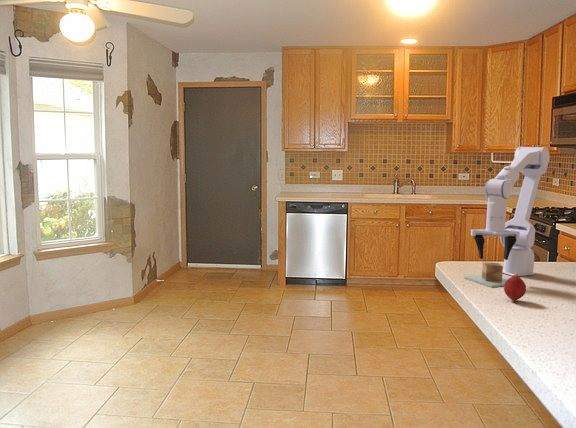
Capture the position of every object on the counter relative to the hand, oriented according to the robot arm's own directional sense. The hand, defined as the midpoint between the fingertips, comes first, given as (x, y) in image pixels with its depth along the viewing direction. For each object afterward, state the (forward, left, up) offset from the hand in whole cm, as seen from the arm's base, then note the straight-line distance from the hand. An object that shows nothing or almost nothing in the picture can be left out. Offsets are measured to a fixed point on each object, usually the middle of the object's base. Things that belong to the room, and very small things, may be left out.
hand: (493, 258), depth 173 cm
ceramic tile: (0, 0, -7) cm, 7 cm away
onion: (+11, +20, -8) cm, 23 cm away
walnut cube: (0, 0, -7) cm, 7 cm away
